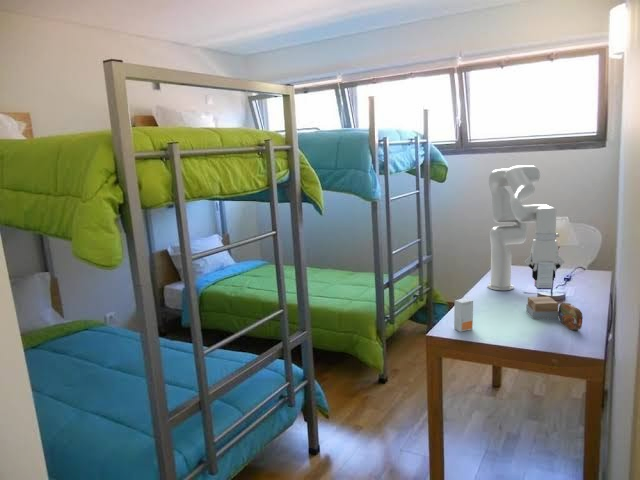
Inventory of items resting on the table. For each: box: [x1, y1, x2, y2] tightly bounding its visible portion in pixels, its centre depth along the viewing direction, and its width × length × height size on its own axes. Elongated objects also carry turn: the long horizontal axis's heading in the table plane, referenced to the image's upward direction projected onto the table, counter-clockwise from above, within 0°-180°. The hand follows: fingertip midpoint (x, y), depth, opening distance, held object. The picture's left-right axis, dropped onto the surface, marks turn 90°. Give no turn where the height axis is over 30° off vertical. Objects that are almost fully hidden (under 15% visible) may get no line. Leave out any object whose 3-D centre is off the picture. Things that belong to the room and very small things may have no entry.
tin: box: [558, 302, 584, 331], centre depth 189 cm, size 15×3×8 cm, turn 178°
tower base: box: [525, 303, 560, 320], centre depth 203 cm, size 10×10×4 cm
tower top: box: [527, 296, 559, 312], centre depth 202 cm, size 9×9×4 cm
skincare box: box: [453, 297, 474, 333], centre depth 190 cm, size 6×4×12 cm
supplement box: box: [534, 262, 554, 290], centre depth 200 cm, size 6×6×12 cm
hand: (543, 279), depth 200 cm, fingers closed on supplement box, 5 cm apart
